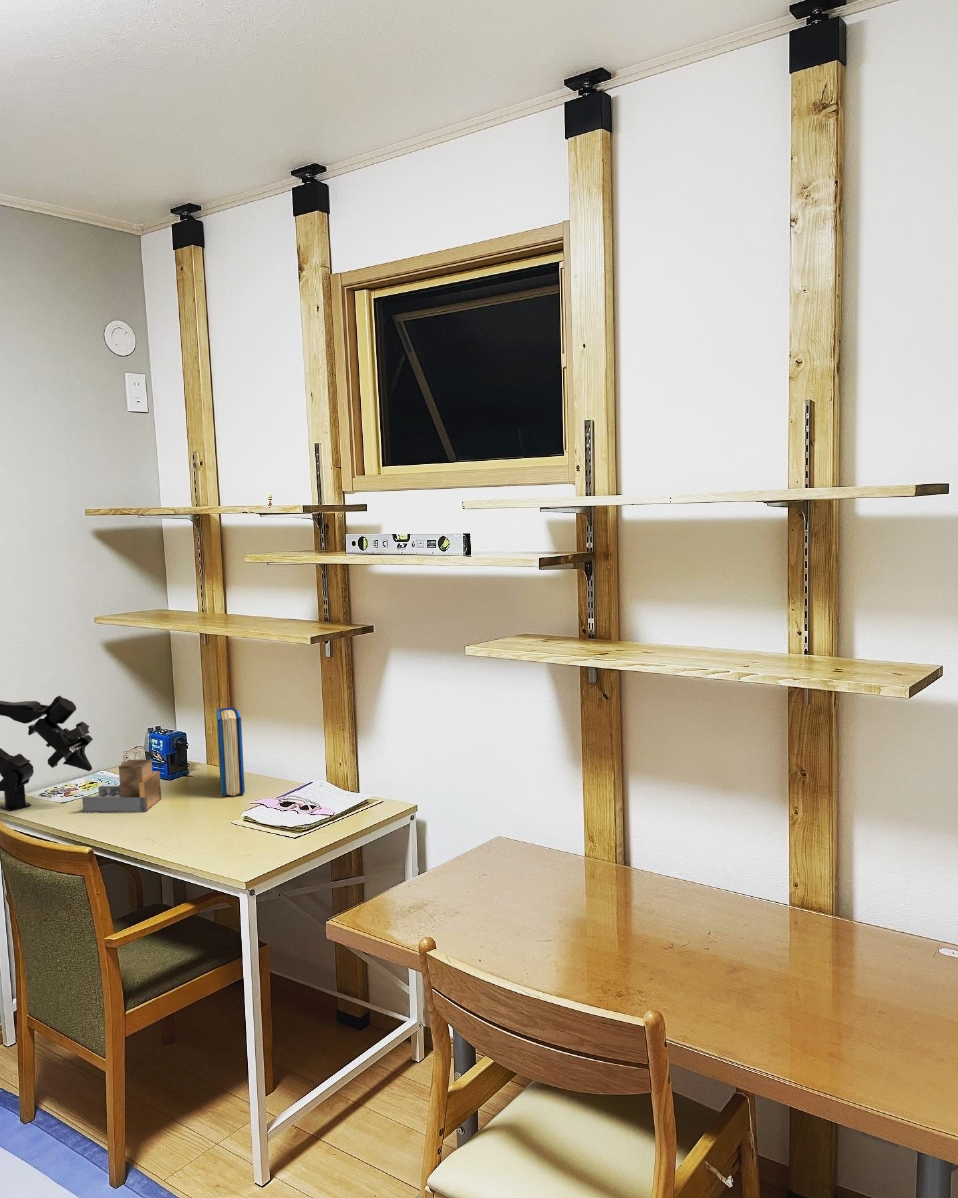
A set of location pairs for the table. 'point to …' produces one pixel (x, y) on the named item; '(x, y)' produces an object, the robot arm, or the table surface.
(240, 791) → the book
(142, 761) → the brown wooden block
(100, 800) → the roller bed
